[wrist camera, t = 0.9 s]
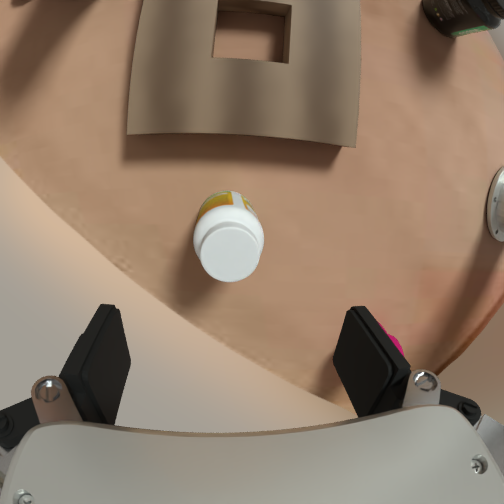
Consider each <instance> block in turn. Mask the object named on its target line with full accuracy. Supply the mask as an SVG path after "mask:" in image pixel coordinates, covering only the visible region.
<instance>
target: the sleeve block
mask: <svg viewBox="0 0 504 504" xmlns="http://www.w3.org/2000/svg"><path fill="white" fill-rule="evenodd" d="M218 11H237V12H250V13H260V14H269V15H277V16H283V17H285V25H284V42H283V57H282V63H278V62H270V61H260V60H249V59H235V58H213V51H214V42H215V33H216V25H217V17H218ZM360 75H361V14H360V0H144V1H143V6H142V10H141V15H140V20H139V25H138V31H137V37H136V43H135V49H134V56H133V64H132V72H131V81H130V92H129V104H128V119H127V135H145V134H228V135H247V136H261V137H273V138H283V139H293V140H301V141H309V142H317V143H324V144H331V145H337V146H344V147H353V148H356V138H357V126H358V113H359V97H360Z"/></svg>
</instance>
